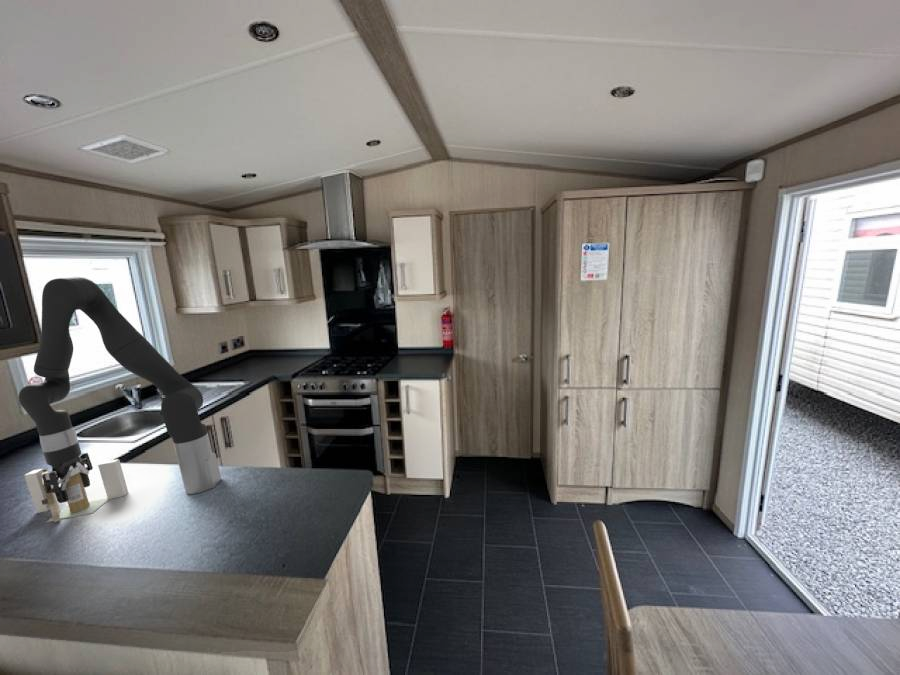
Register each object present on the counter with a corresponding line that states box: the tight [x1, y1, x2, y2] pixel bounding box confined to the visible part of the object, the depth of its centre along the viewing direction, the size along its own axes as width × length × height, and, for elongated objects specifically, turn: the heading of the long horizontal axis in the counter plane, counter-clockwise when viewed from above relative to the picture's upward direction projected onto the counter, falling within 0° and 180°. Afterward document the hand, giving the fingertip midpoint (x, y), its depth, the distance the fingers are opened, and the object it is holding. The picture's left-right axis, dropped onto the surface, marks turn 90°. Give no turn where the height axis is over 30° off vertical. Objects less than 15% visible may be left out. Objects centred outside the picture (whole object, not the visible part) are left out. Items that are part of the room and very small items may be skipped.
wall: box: [97, 458, 129, 499], centre depth 121 cm, size 5×2×12 cm, turn 101°
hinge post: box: [24, 468, 51, 514], centre depth 117 cm, size 3×3×13 cm
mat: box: [46, 497, 112, 523], centre depth 116 cm, size 12×8×1 cm, turn 101°
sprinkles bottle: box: [59, 467, 90, 513], centre depth 115 cm, size 5×5×14 cm
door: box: [41, 468, 61, 523], centre depth 113 cm, size 14×2×13 cm, turn 48°
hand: (75, 494), depth 115 cm, fingers open, 8 cm apart
